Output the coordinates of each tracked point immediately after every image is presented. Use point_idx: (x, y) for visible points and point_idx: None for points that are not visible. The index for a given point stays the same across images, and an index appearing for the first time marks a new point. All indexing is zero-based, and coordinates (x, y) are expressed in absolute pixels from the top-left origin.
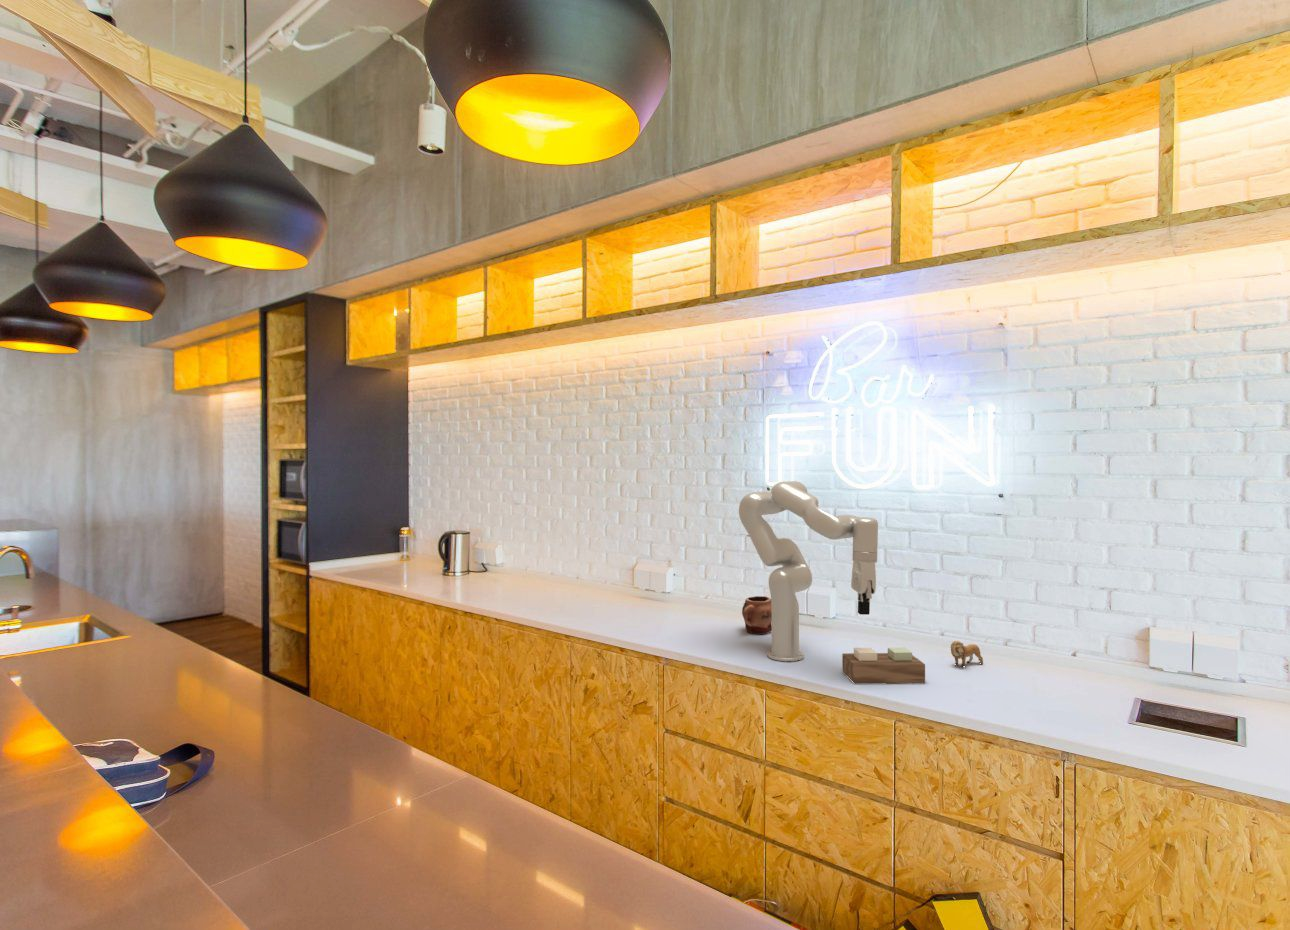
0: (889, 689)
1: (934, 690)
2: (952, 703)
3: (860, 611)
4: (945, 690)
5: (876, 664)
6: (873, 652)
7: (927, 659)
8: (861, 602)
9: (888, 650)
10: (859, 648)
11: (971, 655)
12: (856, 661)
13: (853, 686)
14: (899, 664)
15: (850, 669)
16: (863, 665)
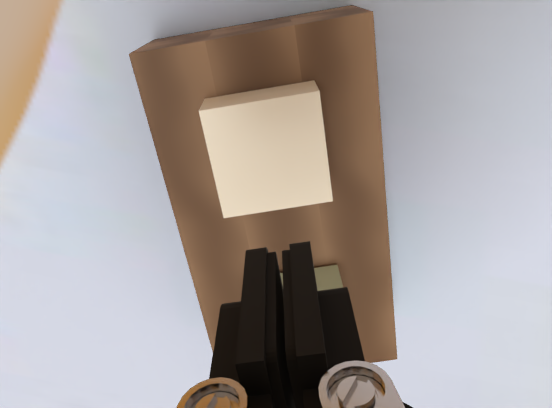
0: (120, 188)
1: (154, 338)
2: (28, 360)
3: (245, 277)
4: (164, 368)
5: (166, 182)
6: (225, 198)
7: (532, 388)
8: (244, 381)
9: (330, 283)
10: (307, 127)
11: None
12: (203, 79)
13: (117, 29)
14: (195, 288)
15: (206, 35)
16: (146, 109)
